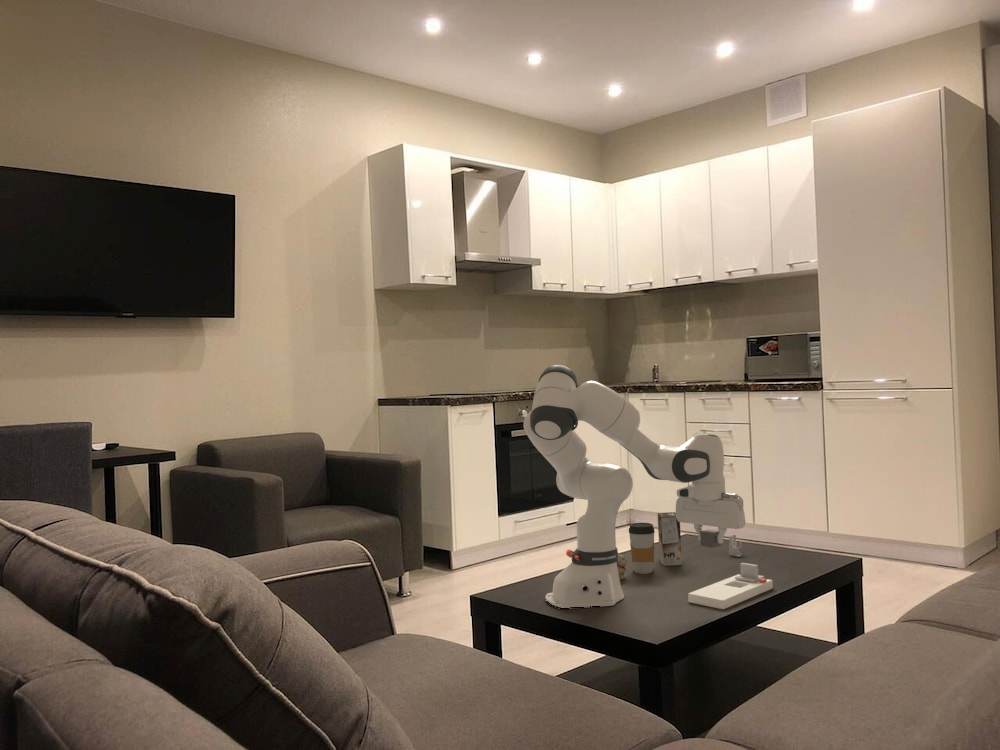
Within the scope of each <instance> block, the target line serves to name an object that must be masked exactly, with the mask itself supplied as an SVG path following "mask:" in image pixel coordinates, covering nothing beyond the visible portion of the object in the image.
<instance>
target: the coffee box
mask: <svg viewBox="0 0 1000 750" xmlns="http://www.w3.org/2000/svg"><path fill="white" fill-rule="evenodd" d="M657 528H658V529H657V531H658V535H657V536H658V553H659V561H660V563H661V564H662V566H664V567H666V566H681V565H682V564H683V563H682V562H683V561H682V560H683V558H682V540H681V539H682V537H681V522H678V520H677V519H676V511H675V512H673V511H672V512H670V511H669V512H668V511H666V512H658V513H657Z"/></svg>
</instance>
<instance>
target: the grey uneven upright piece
mask: <svg viewBox="0 0 1000 750" xmlns="http://www.w3.org/2000/svg"><path fill="white" fill-rule="evenodd" d="M736 537H737V535H736V534H732V535H729V537H728V543H729V544H728V545H729V547H728V549H729V550H728V551H729V552H728V553H729V554H728V555H729V556H732V557H737V558H738V557H742V552H740V551H739V550H740V549H742V545H739V544H742V541H741V542H740V541H738V542H737V538H736Z"/></svg>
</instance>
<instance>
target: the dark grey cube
mask: <svg viewBox="0 0 1000 750" xmlns="http://www.w3.org/2000/svg"><path fill="white" fill-rule="evenodd" d="M719 533H720V531H718V529H710V528H709V529H705V530H702V531H700V538H701V541H700V547H705V548H711V549H712V548H713V549H714V548H718V547H721V546H722V543H716V542H715V536H718V535H719Z"/></svg>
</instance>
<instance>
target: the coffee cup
mask: <svg viewBox="0 0 1000 750" xmlns="http://www.w3.org/2000/svg"><path fill="white" fill-rule="evenodd" d="M655 532H656V531H655V527H654V524H653V523H650V522H633V523H631V524H629V528H628V533H629V541H630V542H629V546H630V554H631V563H632V567H633V568H632V569H633V571H634V573H636V574H651V573H653V571H654V570H655V569H654V562H655Z"/></svg>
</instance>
